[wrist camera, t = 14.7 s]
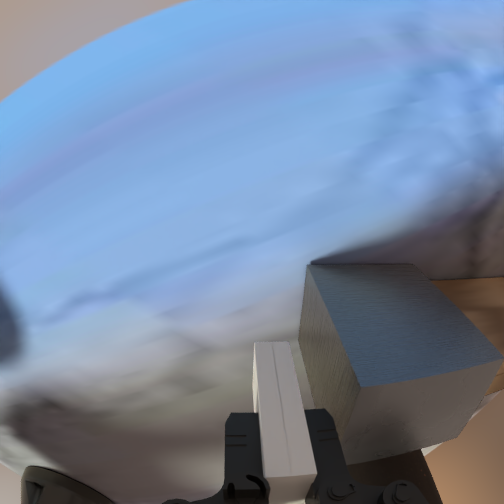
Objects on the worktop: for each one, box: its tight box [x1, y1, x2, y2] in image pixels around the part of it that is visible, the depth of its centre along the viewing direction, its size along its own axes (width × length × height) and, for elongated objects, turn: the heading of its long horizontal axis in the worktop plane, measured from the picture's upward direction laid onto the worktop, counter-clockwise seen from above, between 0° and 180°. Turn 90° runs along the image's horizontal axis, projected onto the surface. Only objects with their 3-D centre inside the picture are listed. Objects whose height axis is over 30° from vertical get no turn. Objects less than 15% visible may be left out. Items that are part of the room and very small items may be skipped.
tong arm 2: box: [431, 277, 504, 375], centre depth 15 cm, size 18×1×8 cm, turn 89°
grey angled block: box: [298, 264, 504, 465], centre depth 15 cm, size 7×5×9 cm
